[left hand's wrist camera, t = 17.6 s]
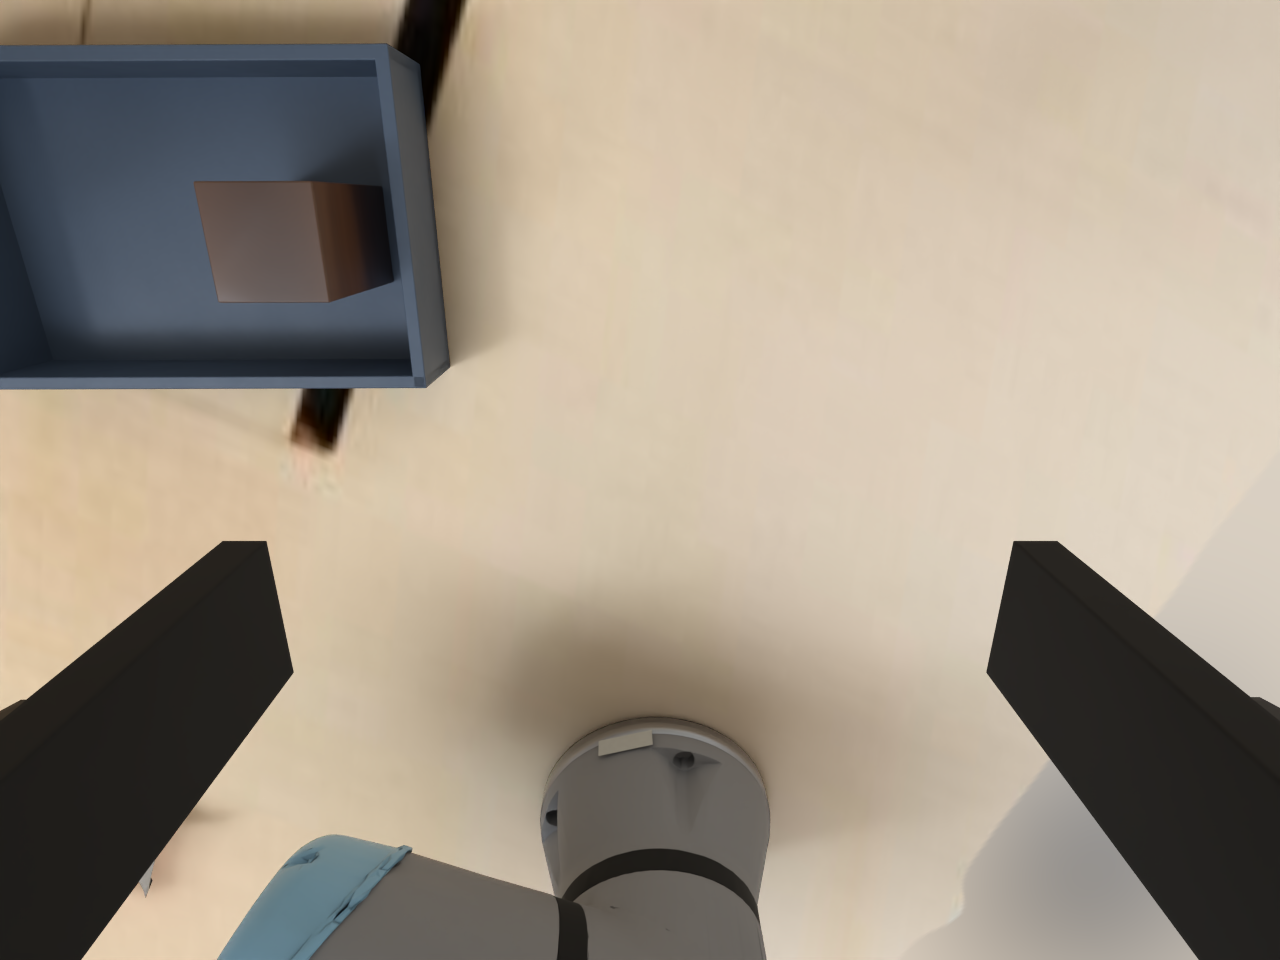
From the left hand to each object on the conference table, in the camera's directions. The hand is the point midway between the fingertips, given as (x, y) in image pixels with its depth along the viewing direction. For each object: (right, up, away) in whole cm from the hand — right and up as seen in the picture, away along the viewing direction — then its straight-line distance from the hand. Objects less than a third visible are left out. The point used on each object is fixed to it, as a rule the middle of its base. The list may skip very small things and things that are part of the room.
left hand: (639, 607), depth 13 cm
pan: (-25, +15, +23) cm, 37 cm away
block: (-15, +14, +22) cm, 30 cm away
